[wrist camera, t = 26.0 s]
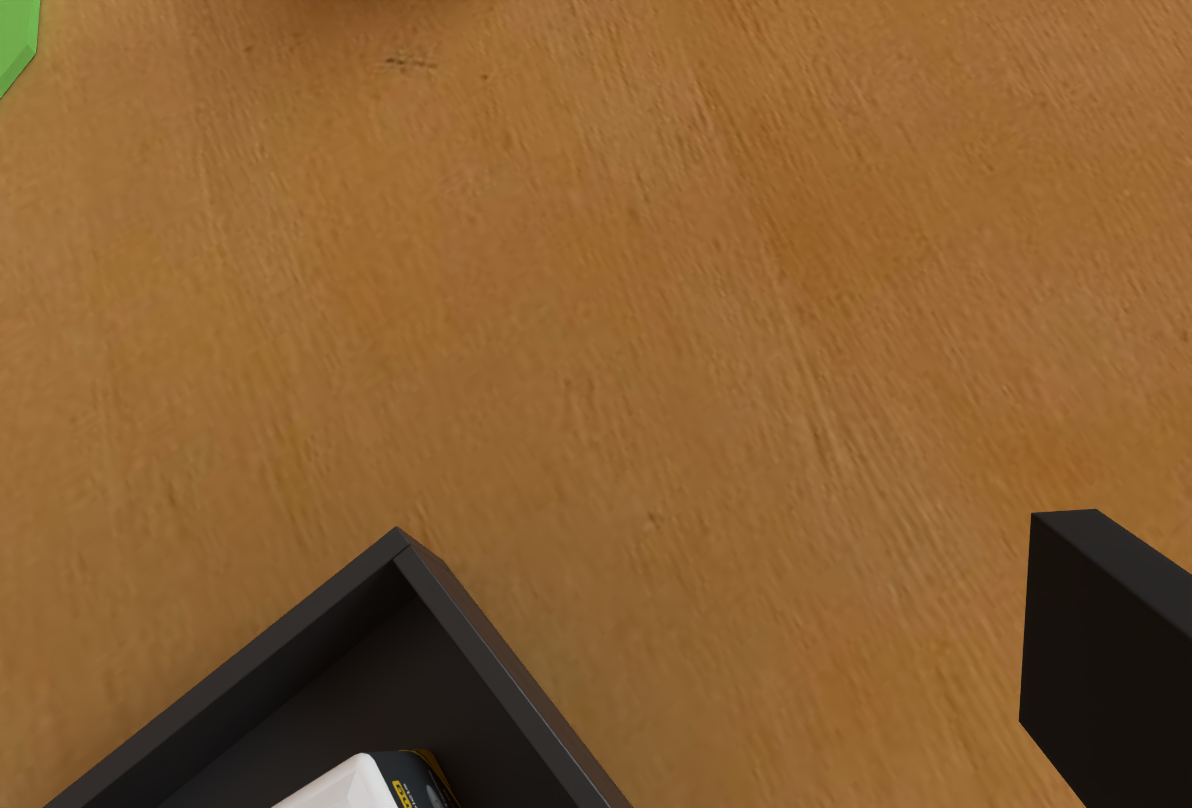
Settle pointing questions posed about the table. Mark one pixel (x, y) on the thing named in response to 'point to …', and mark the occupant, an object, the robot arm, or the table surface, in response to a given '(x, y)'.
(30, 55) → the wagon
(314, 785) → the medicine bottle
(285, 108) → the table surface
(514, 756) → the tote
